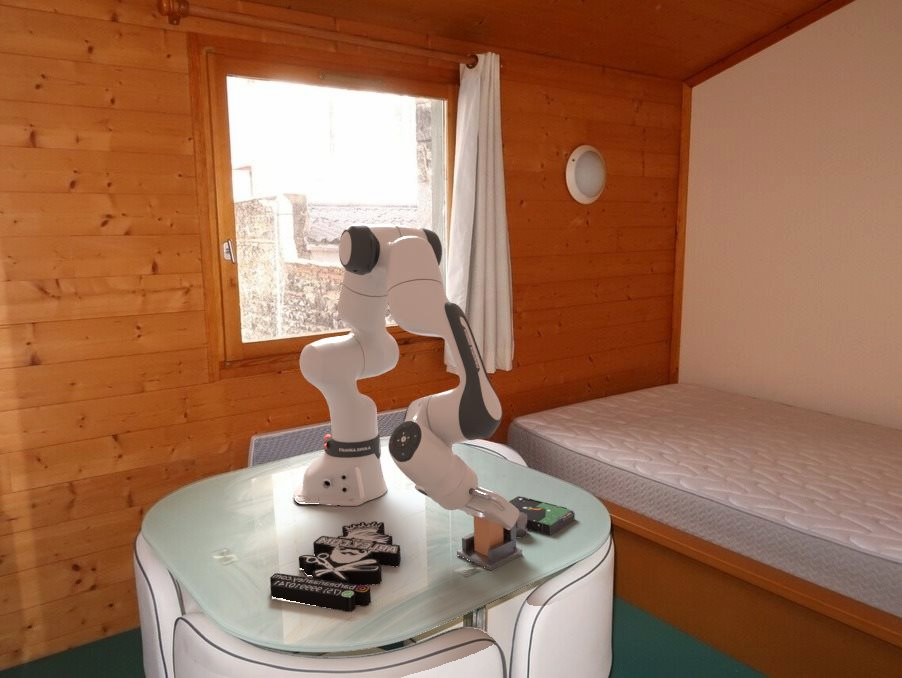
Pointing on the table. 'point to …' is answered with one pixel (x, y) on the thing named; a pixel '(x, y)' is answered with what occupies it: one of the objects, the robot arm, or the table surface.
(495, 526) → the orange tall block
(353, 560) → the sign
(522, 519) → the link stub
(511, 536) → the keeper
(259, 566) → the table surface
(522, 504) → the disk drive
